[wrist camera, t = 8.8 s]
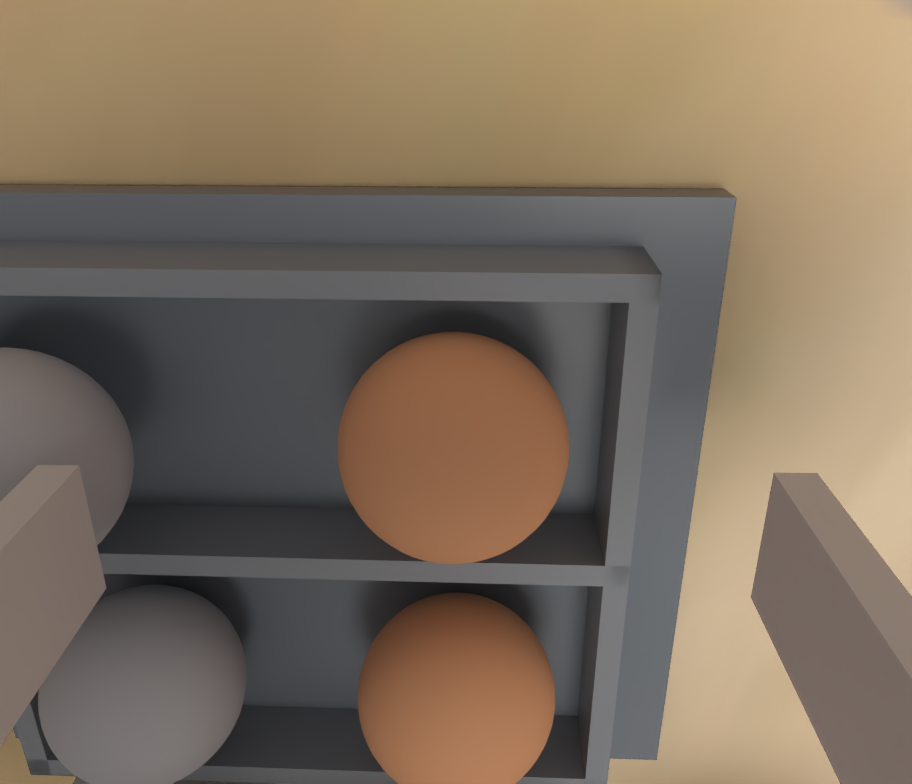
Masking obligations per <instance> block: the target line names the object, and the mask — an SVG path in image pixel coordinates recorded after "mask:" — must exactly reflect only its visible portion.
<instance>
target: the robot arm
mask: <svg viewBox="0 0 912 784" xmlns="http://www.w3.org/2000/svg"><path fill="white" fill-rule="evenodd" d="M105 590H106V584H105V579H104V575H103V570H102V566H101V561H100V557H99V552H98V548H97V543H96V539H95V534H94V530H93V526H92V521H91V517H90V512H89V508H88V503H87V499H86V494H85V490H84V485H83V481H82V476H81V472H80V467H79V465H37V466H36V467H35V468H34V469H33V470H32V471H31V472H30V473H29V474H28V475H27V476H26V477H25V478H24V479H23V480H22V481H21V482H20V483H19V484H18V485H17V486H16V487H15V488H14V489H13V490H12V491H11V492H10V493H9V494H8V495H7V496H6V497H5V498H4V499H3V500H2V501H1V502H0V747H1V745H2V744H3V742H4V741H5V739H6V738H7V736H8V735H9V733H10V732H11V730H12V729H13V727H14V726H15V724H16V723H17V721H18V720H19V718H20V717H21V715H22V714H23V712H24V711H25V709H26V708H27V706H28V705H29V703H30V702H31V700H32V699H33V697H34V696H35V694H36V693H37V691H38V690H39V688H40V687H41V685H42V684H43V682H44V681H45V679H46V678H47V676H48V675H49V673H50V672H51V670H52V669H53V667H54V666H55V664H56V663H57V661H58V660H59V658H60V657H61V655H62V654H63V652H64V651H65V649H66V648H67V646H68V645H69V643H70V642H71V640H72V639H73V637H74V636H75V634H76V633H77V631H78V630H79V628H80V627H81V625H82V624H83V622H84V621H85V619H86V618H87V616H88V615H89V613H90V612H91V610H92V609H93V607H94V606H95V604H96V603H97V601H98V600H99V598H100V597H101V595H102V594H103V593H104V591H105ZM751 598H752V600H753V603H754V605H755V607H756V609H757V611H758V613H759V615H760V617H761V619H762V621H763V623H764V625H765V627H766V630H767V632H768V634H769V636H770V638H771V640H772V642H773V644H774V646H775V648H776V650H777V652H778V655H779V657H780V659H781V661H782V663H783V665H784V667H785V669H786V671H787V673H788V675H789V677H790V680H791V682H792V684H793V686H794V688H795V690H796V692H797V694H798V696H799V698H800V700H801V702H802V704H803V707H804V709H805V711H806V713H807V715H808V717H809V719H810V721H811V723H812V725H813V727H814V729H815V732H816V734H817V736H818V738H819V740H820V742H821V744H822V746H823V748H824V750H825V752H826V754H827V757H828V759H829V761H830V763H831V765H832V767H833V769H834V771H835V773H836V775H837V777H838V779H839V781H840V784H912V596H911V595H910V594H909V593H908V591H907V590H906V589H905V587H904V586H903V585H902V583H901V582H900V581H899V579H898V578H897V577H896V576H895V574H894V573H893V572H892V570H891V569H890V568H889V566H888V565H887V564H886V562H885V561H884V560H883V559H882V557H881V556H880V555H879V553H878V552H877V551H876V549H875V548H874V547H873V545H872V544H871V543H870V542H869V540H868V539H867V538H866V536H865V535H864V534H863V532H862V531H861V530H860V528H859V527H858V526H857V525H856V523H855V522H854V521H853V519H852V518H851V517H850V515H849V514H848V513H847V512H846V510H845V509H844V508H843V506H842V505H841V504H840V502H839V501H838V500H837V498H836V497H835V496H834V495H833V493H832V492H831V491H830V489H829V488H828V487H827V485H826V484H825V483H824V481H823V480H822V479H821V478H820V476H819V475H818V474H817V473H774V475H773V480H772V486H771V491H770V497H769V502H768V508H767V513H766V518H765V524H764V529H763V535H762V540H761V546H760V551H759V557H758V562H757V568H756V573H755V579H754V584H753V589H752V595H751Z"/></svg>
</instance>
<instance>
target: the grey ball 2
mask: <svg viewBox="0 0 912 784" xmlns="http://www.w3.org/2000/svg"><path fill="white" fill-rule="evenodd" d="M246 683H247V668H246V658H245V654H244V650H243V646H242V643H241V641H240V638H239V636H238V634H237V632H236V630H235V629H234V627H233V625H232V623H231V622H230V621H229V619H228V618H227V617H226V616H225V614H224V613H223V612H222V611H221V610H220V609H219V608H217V607H216V606H215V605H214V604H212V603H211V602H210V601H208V600H207V599H205V598H204V597H202V596H200V595H198V594H196V593H194V592H192V591H189V590H186V589H183V588H179V587H174V586H168V585H143V586H137V587H131V588H127V589H124V590H121V591H118V592H115V593H113V594H111V595H108V596H106V597H104V598H102V599H101V600H99V601H97V603H96V604H95V606H94V607H93V609H92V610H91V612H90V613H89V615H88V616H87V618H86V619H85V621H84V622H83V624H82V625H81V627H80V628H79V630H78V631H77V633H76V634H75V636H74V637H73V639H72V640H71V642H70V643H69V645H68V646H67V648H66V649H65V651H64V652H63V654H62V655H61V657H60V658H59V660H58V661H57V663H56V664H55V666H54V667H53V669H52V670H51V672H50V673H49V675H48V676H47V678H46V679H45V681H44V682H43V684H42V685H41V687H40V688H39V692H38V711H39V717H40V722H41V727H42V730H43V733H44V736H45V738H46V740H47V743H48V745H49V747H50V748H51V750H52V752H53V753H54V754H55V756H56V757H57V758H58V760H59V761H60V762H61V763H62V764H63V765H64V766H65V767H66V768H67V769H68V770H69V771H70V772H71V773H73V774H74V775H75V776H77V777H78V778H80V779H82V780H83V781H85V782H87V783H90V784H172V783H174V782H176V781H178V780H180V779H182V778H184V777H186V776H188V775H190V774H191V773H193V772H194V771H195V770H197V769H198V768H200V767H201V766H202V765H203V764H205V763H206V762H207V761H208V760H209V759H210V758H211V757H212V756H213V755H214V754H215V753H216V752H217V751H218V750H219V748H220V747H221V746H222V745H223V743H224V742H225V741H226V739H227V738H228V736H229V735H230V733H231V731H232V729H233V727H234V726H235V724H236V721H237V719H238V717H239V715H240V712H241V708H242V705H243V702H244V698H245V692H246Z"/></svg>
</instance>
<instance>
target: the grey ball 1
mask: <svg viewBox="0 0 912 784" xmlns="http://www.w3.org/2000/svg"><path fill="white" fill-rule="evenodd" d="M37 465H79V467H80V472H81V476H82V481H83V485H84V490H85V494H86V499H87V503H88V508H89V512H90V517H91V521H92V526H93V530H94V534H95V539H96V543H97V545H98V544H99V543H100V542H101V541H102V540H103V539H104V538H105V537H106V535H107V534H108V533H109V532H110V530H111V529H112V528H113V526H114V525H115V523H116V522H117V520H118V518H119V517H120V515H121V513H122V511H123V509H124V506H125V504H126V502H127V499H128V496H129V493H130V489H131V485H132V480H133V471H134V454H133V445H132V440H131V435H130V432H129V429H128V426H127V423H126V421H125V419H124V417H123V415H122V413H121V411H120V410H119V408H118V406H117V405H116V403H115V401H114V400H113V399H112V397H111V396H110V395H109V394H108V393H107V392H106V391H105V389H104V388H103V387H102V386H101V385H100V384H99V383H98V382H96V381H95V380H94V379H93V378H92V377H90V376H89V375H88V374H87V373H85V372H84V371H82V370H80V369H79V368H77V367H76V366H74V365H72V364H70V363H68V362H66V361H64V360H61V359H59V358H57V357H54V356H51V355H48V354H45V353H42V352H38V351H33V350H27V349H21V348H8V347H3V348H0V502H1V501H2V500H3V499H4V498H5V497H6V496H7V495H8V494H9V493H10V492H11V491H12V490H13V489H14V488H15V487H16V486H17V485H18V484H19V483H20V482H21V481H22V480H23V479H24V478H25V477H26V476H27V475H28V474H29V473H30V472H31V471H32V470H33V469H34V468H35V467H36V466H37Z"/></svg>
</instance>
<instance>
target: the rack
mask: <svg viewBox="0 0 912 784" xmlns="http://www.w3.org/2000/svg"><path fill="white" fill-rule="evenodd" d="M735 205H736V197H735V196H734V195H732V194H731V193H729V192H728V191H727V190H725V189H645V188H484V187H324V186H163V185H2V184H0V348H3V347H8V348H21V349H27V350H33V351H38V352H42V353H45V354H48V355H51V356H54V357H57V358H59V359H61V360H64V361H66V362H68V363H70V364H72V365H74V366H76V367H77V368H79V369H80V370H82V371H84V372H85V373H87V374H88V375H89V376H90V377H92V378H93V379H94V380H95V381H96V382H98V383H99V384H100V385H101V386H102V387H103V388H104V389H105V391H106V392H107V393H108V394H109V395H110V396H111V397H112V399H113V400H114V401H115V403H116V405H117V406H118V408H119V410H120V411H121V413H122V415H123V417H124V419H125V421H126V423H127V426H128V429H129V432H130V435H131V440H132V445H133V454H134V471H133V480H132V485H131V489H130V493H129V496H128V499H127V502H126V504H125V506H124V509H123V511H122V513H121V515H120V517H119V518H118V520H117V522H116V523H115V525H114V526H113V528H112V529H111V530H110V532H109V533H108V534H107V535H106V537H105V538H104V539H103V540H102V541H101V542H100V543H99V544H98V545H97V548H98V552H99V557H100V561H101V566H102V570H103V575H104V579H105V584H106V590H105V591H104V593H103V594H102V595H101V597H100V598H99V600H101V599H102V598H104V597H106V596H108V595H111V594H113V593H115V592H118V591H121V590H124V589H127V588H131V587H137V586H143V585H168V586H174V587H179V588H183V589H186V590H189V591H192V592H194V593H196V594H198V595H200V596H202V597H204V598H205V599H207V600H208V601H210V602H211V603H212V604H214V605H215V606H216V607H217V608H219V609H220V610H221V611H222V612H223V613H224V614H225V616H226V617H227V618H228V619H229V621H230V622H231V623H232V625H233V627H234V629H235V630H236V632H237V634H238V636H239V638H240V641H241V643H242V646H243V650H244V654H245V658H246V668H247V683H246V692H245V698H244V702H243V705H242V708H241V712H240V715H239V717H238V719H237V721H236V724H235V726H234V727H233V729H232V731H231V733H230V735H229V736H228V738H227V739H226V741H225V742H224V743H223V745H222V746H221V747H220V748H219V750H218V751H217V752H216V753H215V754H214V755H213V756H212V757H211V758H210V759H209V760H208V761H207V762H206V763H205V764H203V765H202V766H201V767H200V768H198V769H197V770H195V771H194V772H193V773H191V774H190V775H188V776H186V777H184V778H182V779H180V780H178V781H176V782H174V783H172V784H398V783H397V782H396V781H394V780H393V779H392V778H391V777H390V776H389V775H388V774H387V773H386V772H385V771H384V770H383V768H382V767H381V766H380V764H379V763H378V762H377V760H376V759H375V757H374V756H373V754H372V752H371V750H370V748H369V746H368V744H367V742H366V740H365V737H364V734H363V731H362V727H361V723H360V719H359V712H358V685H359V678H360V673H361V669H362V666H363V662H364V660H365V657H366V655H367V652H368V650H369V648H370V646H371V644H372V643H373V641H374V639H375V638H376V636H377V635H378V634H379V632H380V631H381V630H382V628H383V627H384V626H385V625H386V624H387V622H388V621H390V620H391V619H392V618H393V617H394V616H395V615H396V614H398V613H399V612H400V611H401V610H403V609H404V608H406V607H407V606H409V605H411V604H413V603H415V602H417V601H419V600H422V599H424V598H427V597H430V596H433V595H437V594H443V593H458V592H459V593H470V594H475V595H480V596H483V597H487V598H489V599H492V600H494V601H496V602H498V603H500V604H502V605H503V606H505V607H507V608H509V609H510V610H512V611H513V612H514V613H516V614H517V615H518V616H519V617H520V618H521V619H522V620H523V621H524V622H525V623H526V624H527V625H528V626H529V627H530V628H531V629H532V631H533V632H534V633H535V635H536V636H537V638H538V639H539V641H540V643H541V645H542V646H543V648H544V650H545V652H546V655H547V658H548V660H549V663H550V666H551V669H552V674H553V679H554V684H555V712H554V718H553V724H552V728H551V731H550V734H549V737H548V739H547V742H546V745H545V747H544V748H543V750H542V752H541V754H540V756H539V757H538V759H537V761H536V762H535V763H534V765H533V766H532V767H531V769H530V770H529V771H528V772H527V773H526V774H525V775H524V776H523V777H522V778H521V779H520V780H519V781H518V782H516V783H515V784H607V779H608V770H609V761H610V758H614V759H644V760H657V753H658V746H659V739H660V732H661V725H662V718H663V711H664V704H665V697H666V690H667V683H668V676H669V669H670V662H671V655H672V648H673V641H674V634H675V627H676V620H677V613H678V606H679V599H680V592H681V585H682V578H683V571H684V564H685V556H686V549H687V542H688V535H689V528H690V521H691V514H692V507H693V500H694V493H695V486H696V479H697V472H698V465H699V458H700V451H701V444H702V437H703V430H704V423H705V416H706V409H707V402H708V395H709V388H710V381H711V374H712V367H713V360H714V353H715V346H716V339H717V332H718V325H719V318H720V311H721V304H722V297H723V290H724V283H725V276H726V268H727V261H728V254H729V247H730V240H731V233H732V226H733V219H734V212H735ZM440 332H466V333H473V334H478V335H483V336H486V337H489V338H492V339H495V340H498V341H500V342H502V343H504V344H506V345H508V346H510V347H512V348H513V349H515V350H516V351H518V352H519V353H521V354H522V355H524V356H525V357H526V358H527V359H528V360H530V361H531V362H532V363H533V364H534V365H535V366H536V367H537V368H538V369H539V370H540V371H541V373H542V374H543V375H544V376H545V378H546V379H547V381H548V382H549V384H550V385H551V387H552V388H553V390H554V391H555V393H556V395H557V397H558V399H559V401H560V403H561V406H562V409H563V413H564V416H565V419H566V423H567V428H568V434H569V461H568V468H567V473H566V476H565V480H564V483H563V487H562V490H561V492H560V495H559V497H558V499H557V501H556V503H555V505H554V506H553V508H552V509H551V511H550V512H549V514H548V515H547V517H546V519H545V520H544V521H543V522H542V523H541V525H540V526H539V527H538V528H537V529H536V530H535V531H534V532H533V533H531V534H530V535H529V536H528V537H527V538H526V539H525V540H523V541H522V542H521V543H519V544H518V545H516V546H515V547H513V548H512V549H510V550H508V551H506V552H504V553H502V554H500V555H497V556H494V557H492V558H489V559H486V560H482V561H478V562H474V563H466V564H440V563H433V562H428V561H424V560H420V559H417V558H414V557H411V556H409V555H407V554H405V553H402V552H400V551H399V550H397V549H395V548H394V547H392V546H390V545H389V544H387V543H386V542H385V541H383V540H382V539H381V538H379V537H378V536H377V535H376V534H375V533H374V532H373V531H372V530H370V529H369V528H368V526H367V525H366V524H365V523H364V522H363V520H362V519H361V518H360V516H359V515H358V513H357V512H356V510H355V509H354V507H353V505H352V504H351V502H350V500H349V498H348V496H347V493H346V491H345V488H344V485H343V482H342V478H341V475H340V471H339V464H338V432H339V425H340V421H341V418H342V414H343V411H344V408H345V405H346V402H347V400H348V398H349V396H350V394H351V392H352V390H353V389H354V387H355V386H356V384H357V383H358V381H359V380H360V378H361V377H362V375H363V374H364V373H365V372H366V371H367V370H368V369H369V368H370V367H371V365H372V364H374V363H375V362H376V361H377V360H378V359H380V358H381V357H382V356H383V355H385V354H386V353H387V352H389V351H390V350H392V349H393V348H395V347H397V346H398V345H400V344H402V343H405V342H407V341H409V340H411V339H414V338H418V337H421V336H424V335H428V334H434V333H440ZM99 600H98V601H99ZM38 692H39V690H38V691H37V693H36V694H35V696H34V697H33V699H32V700H31V702H30V703H29V705H28V706H27V708H26V709H25V711H24V712H23V714H22V715H21V717H20V718H19V720H18V721H17V723H16V724H15V726H14V727H13V729H14V732H15V736H16V738H20V741H21V744H22V747H23V751H24V754H25V757H26V760H27V763H28V767H29V770H30V773H31V775H55V776H75V775H74V774H73V773H71V772H70V771H69V770H68V769H67V768H66V767H65V766H64V765H63V764H62V763H61V762H60V761H59V760H58V758H57V757H56V756H55V754H54V753H53V752H52V750H51V748H50V747H49V745H48V743H47V740H46V738H45V736H44V733H43V730H42V727H41V722H40V717H39V711H38ZM73 784H90V783H87V782H85V781H83V780H82V779H80V778H78V777H76V779H75V781H74V783H73Z"/></svg>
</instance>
